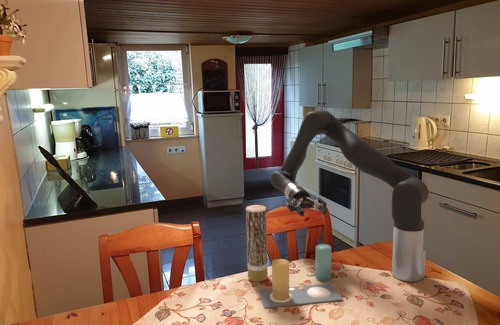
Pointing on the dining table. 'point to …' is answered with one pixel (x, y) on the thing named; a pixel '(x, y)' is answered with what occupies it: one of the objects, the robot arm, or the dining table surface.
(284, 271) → the amber tube
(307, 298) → the card
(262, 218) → the wooden log
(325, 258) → the teal tube
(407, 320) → the dining table surface
